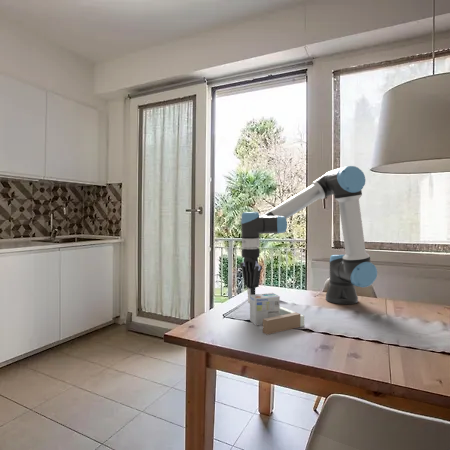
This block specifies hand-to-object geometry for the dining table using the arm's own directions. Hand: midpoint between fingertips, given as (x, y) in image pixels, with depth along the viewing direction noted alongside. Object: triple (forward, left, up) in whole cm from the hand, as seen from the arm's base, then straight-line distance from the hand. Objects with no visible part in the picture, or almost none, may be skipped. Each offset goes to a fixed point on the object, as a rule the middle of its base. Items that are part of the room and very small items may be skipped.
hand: (251, 302), depth 141 cm
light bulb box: (+1, +10, -5) cm, 12 cm away
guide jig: (+1, +10, -5) cm, 11 cm away
